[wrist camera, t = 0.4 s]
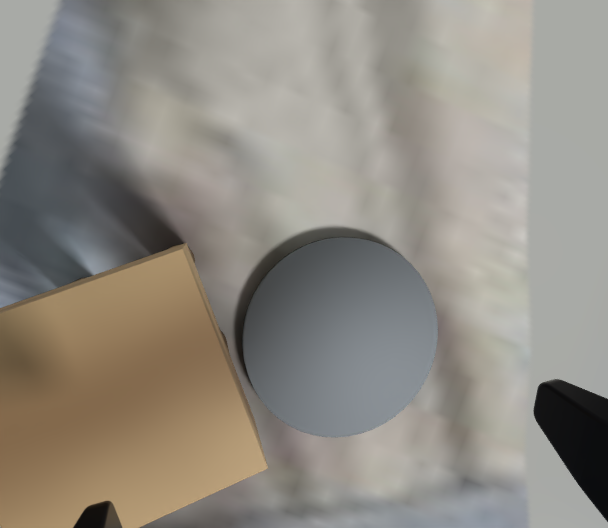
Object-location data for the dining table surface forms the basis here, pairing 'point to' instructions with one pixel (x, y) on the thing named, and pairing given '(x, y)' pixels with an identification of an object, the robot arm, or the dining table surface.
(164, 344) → the wooden stool
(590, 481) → the robot arm
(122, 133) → the dining table surface
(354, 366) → the disc
